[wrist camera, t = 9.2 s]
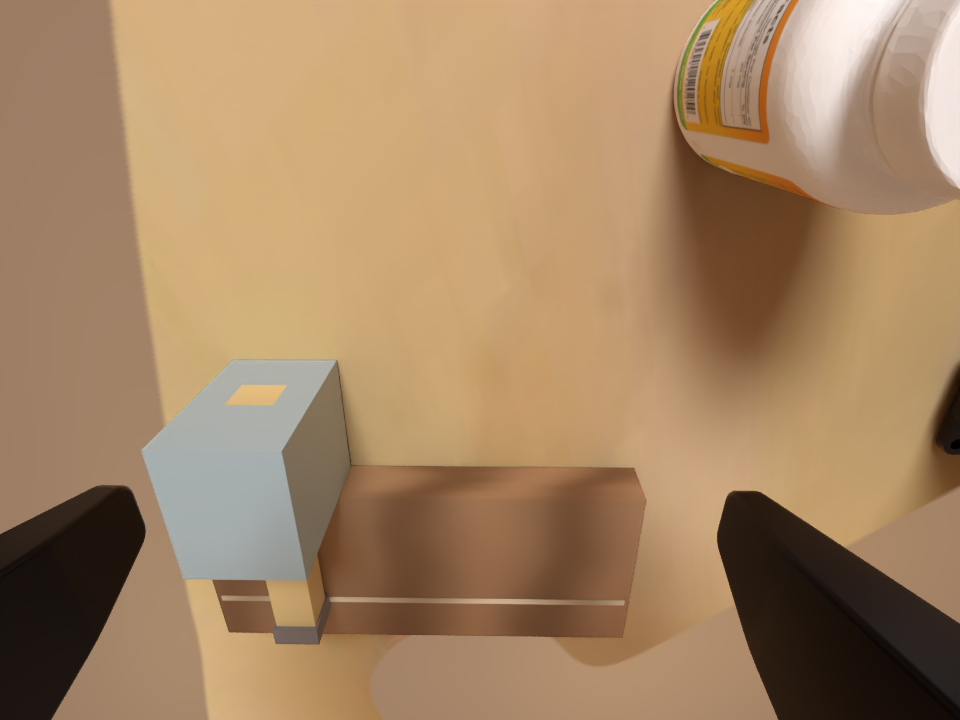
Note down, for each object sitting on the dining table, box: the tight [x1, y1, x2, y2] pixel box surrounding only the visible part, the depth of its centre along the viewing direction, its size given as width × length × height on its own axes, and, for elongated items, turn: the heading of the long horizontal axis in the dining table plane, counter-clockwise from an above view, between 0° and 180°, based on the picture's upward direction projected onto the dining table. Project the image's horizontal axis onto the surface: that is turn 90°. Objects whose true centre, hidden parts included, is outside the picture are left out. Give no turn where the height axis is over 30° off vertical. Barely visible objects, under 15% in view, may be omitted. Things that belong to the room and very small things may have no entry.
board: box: [213, 466, 646, 638], centre depth 24 cm, size 18×8×2 cm, turn 90°
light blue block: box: [141, 360, 351, 644], centre depth 20 cm, size 4×11×6 cm, turn 0°
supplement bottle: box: [674, 0, 960, 215], centre depth 12 cm, size 5×5×10 cm
